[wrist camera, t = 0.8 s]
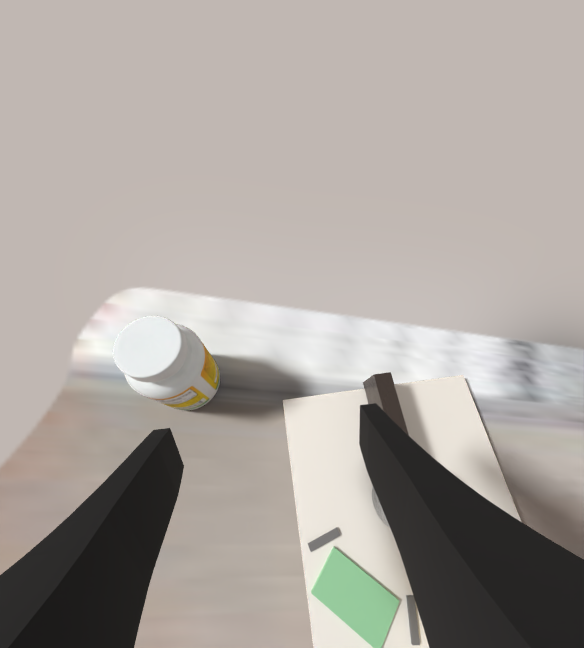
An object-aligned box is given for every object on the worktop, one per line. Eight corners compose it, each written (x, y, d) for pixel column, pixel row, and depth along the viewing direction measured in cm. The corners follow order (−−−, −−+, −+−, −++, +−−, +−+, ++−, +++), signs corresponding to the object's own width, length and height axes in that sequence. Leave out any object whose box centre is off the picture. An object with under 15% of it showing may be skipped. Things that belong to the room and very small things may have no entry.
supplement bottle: (195, 423, 24) (147, 410, 15) (148, 389, 25) (78, 358, 16) (233, 371, 26) (210, 333, 17) (189, 342, 27) (145, 291, 18)
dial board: (546, 609, 20) (563, 619, 19) (315, 664, 18) (318, 680, 17) (456, 377, 26) (465, 374, 25) (282, 401, 25) (282, 399, 24)
